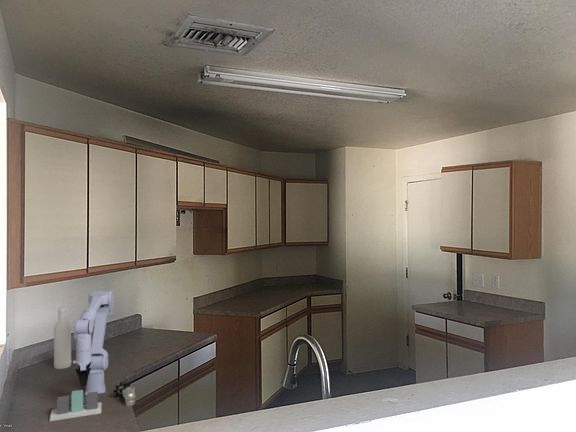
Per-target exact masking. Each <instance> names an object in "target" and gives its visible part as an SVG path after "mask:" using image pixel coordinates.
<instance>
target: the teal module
mask: <svg viewBox="0 0 576 432" xmlns="http://www.w3.org/2000/svg"><path fill="white" fill-rule="evenodd" d="M70 396H71V402H70V403H71V407H72V412H77V411H83V405H84V390H83V389H79V390H72V391H71V395H70Z"/></svg>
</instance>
